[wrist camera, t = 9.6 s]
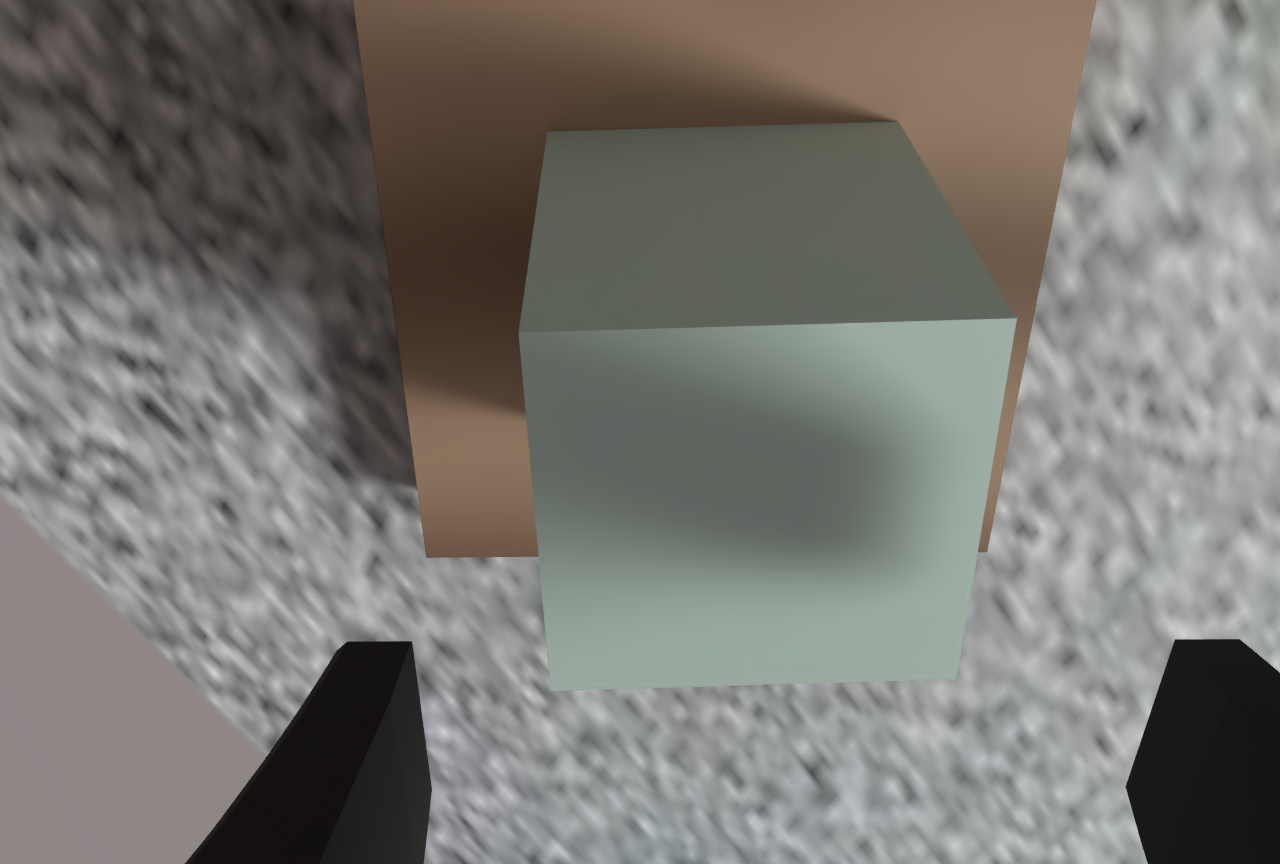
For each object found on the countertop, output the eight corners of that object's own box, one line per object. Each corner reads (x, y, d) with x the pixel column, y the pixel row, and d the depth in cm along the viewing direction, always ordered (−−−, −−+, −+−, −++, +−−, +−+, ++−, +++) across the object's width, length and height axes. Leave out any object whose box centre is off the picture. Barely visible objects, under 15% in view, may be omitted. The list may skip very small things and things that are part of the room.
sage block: (869, 418, 20) (956, 678, 15) (567, 426, 20) (550, 690, 15) (898, 121, 17) (1016, 318, 12) (547, 131, 17) (518, 333, 12)
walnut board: (954, 471, 23) (986, 552, 21) (444, 475, 23) (426, 557, 21) (1047, -74, 18) (1103, -37, 16) (381, -69, 18) (349, -32, 16)
